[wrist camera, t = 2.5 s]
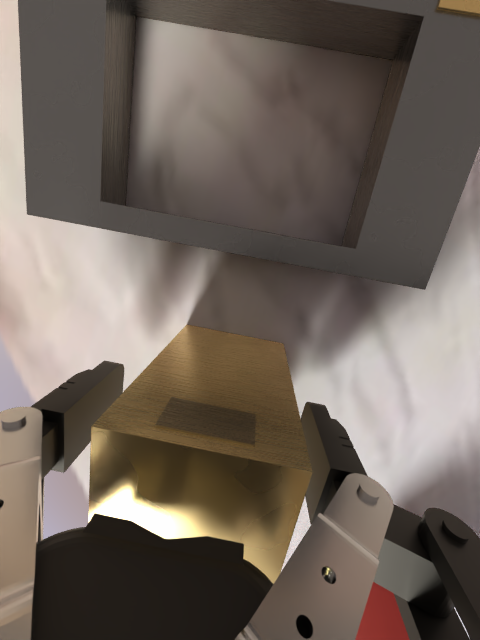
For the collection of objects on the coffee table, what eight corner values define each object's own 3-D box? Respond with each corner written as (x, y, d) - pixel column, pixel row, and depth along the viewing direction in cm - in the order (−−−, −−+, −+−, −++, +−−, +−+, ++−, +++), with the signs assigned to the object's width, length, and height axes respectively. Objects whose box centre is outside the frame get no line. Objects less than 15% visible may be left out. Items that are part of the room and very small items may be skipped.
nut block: (283, 342, 14) (312, 470, 6) (263, 426, 15) (265, 618, 7) (186, 323, 14) (91, 424, 6) (175, 408, 15) (87, 579, 7)
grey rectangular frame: (484, 40, 10) (542, -14, 8) (399, 282, 12) (426, 289, 10) (60, -31, 10) (10, -99, 8) (62, 219, 13) (25, 214, 11)
